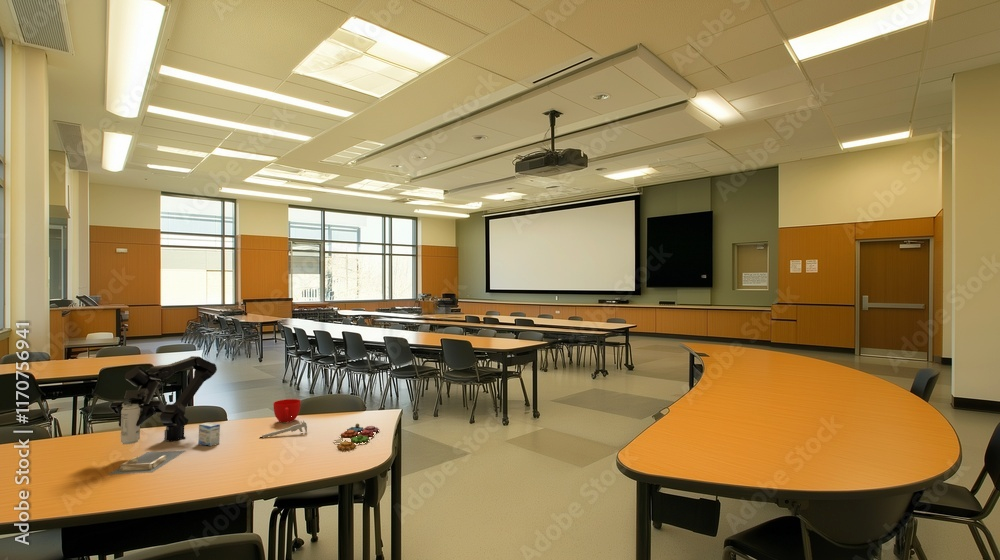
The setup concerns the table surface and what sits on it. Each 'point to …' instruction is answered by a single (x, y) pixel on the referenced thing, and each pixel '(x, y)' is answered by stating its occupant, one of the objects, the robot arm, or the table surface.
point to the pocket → (141, 464)
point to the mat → (150, 461)
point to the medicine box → (209, 434)
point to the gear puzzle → (352, 435)
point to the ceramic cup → (287, 409)
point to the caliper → (288, 429)
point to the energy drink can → (130, 424)
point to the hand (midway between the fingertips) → (128, 425)
